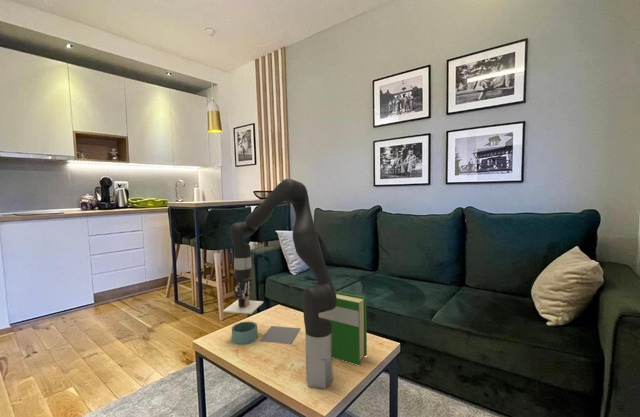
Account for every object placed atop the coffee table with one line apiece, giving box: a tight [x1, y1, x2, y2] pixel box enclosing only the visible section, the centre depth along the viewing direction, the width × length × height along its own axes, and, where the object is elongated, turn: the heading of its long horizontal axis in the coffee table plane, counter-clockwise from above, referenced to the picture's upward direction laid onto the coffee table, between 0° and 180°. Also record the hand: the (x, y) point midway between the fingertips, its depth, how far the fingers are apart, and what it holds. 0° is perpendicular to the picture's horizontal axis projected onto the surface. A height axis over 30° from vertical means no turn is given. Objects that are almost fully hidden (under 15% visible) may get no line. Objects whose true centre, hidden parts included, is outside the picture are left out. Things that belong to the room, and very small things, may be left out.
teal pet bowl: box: [231, 321, 258, 346], centre depth 130 cm, size 11×11×6 cm
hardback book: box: [319, 290, 368, 366], centre depth 116 cm, size 18×7×24 cm, turn 58°
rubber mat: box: [259, 325, 302, 345], centre depth 133 cm, size 15×15×1 cm
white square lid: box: [222, 295, 264, 315], centre depth 130 cm, size 13×13×5 cm
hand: (244, 304), depth 130 cm, fingers closed on white square lid, 3 cm apart
